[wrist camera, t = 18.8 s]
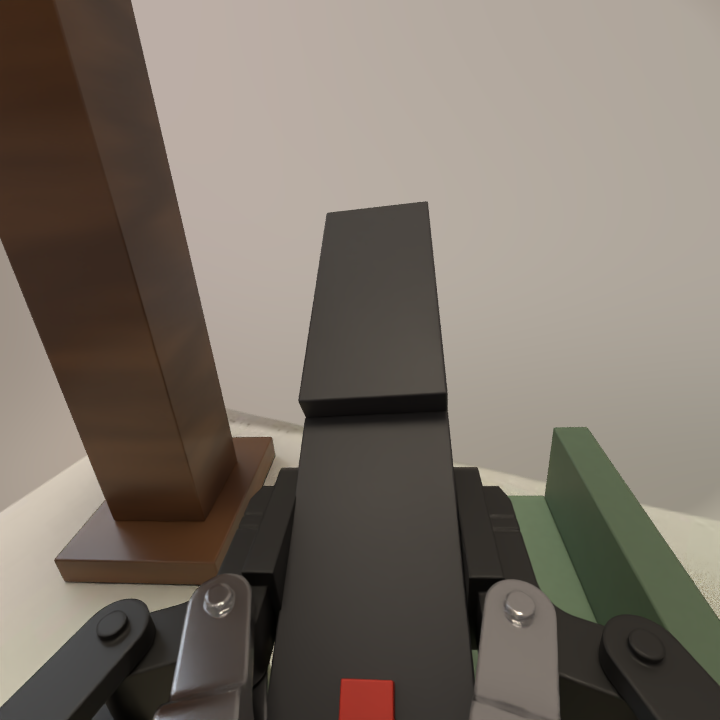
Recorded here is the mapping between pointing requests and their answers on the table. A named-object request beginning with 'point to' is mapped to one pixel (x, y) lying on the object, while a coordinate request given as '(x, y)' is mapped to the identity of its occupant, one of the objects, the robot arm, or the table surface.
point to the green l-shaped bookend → (608, 550)
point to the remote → (374, 492)
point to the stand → (116, 295)
